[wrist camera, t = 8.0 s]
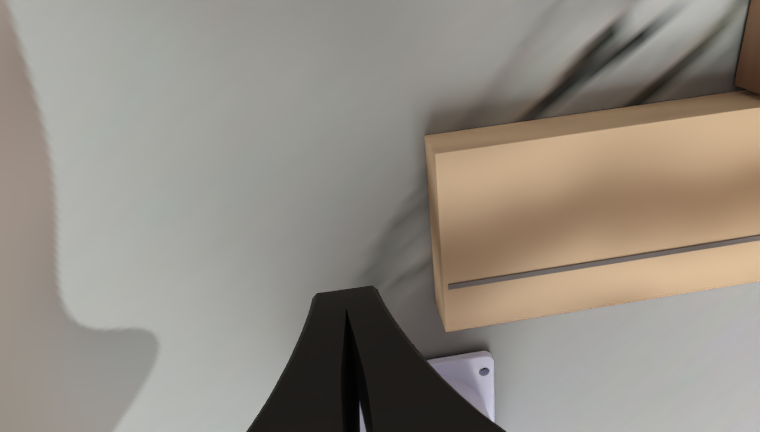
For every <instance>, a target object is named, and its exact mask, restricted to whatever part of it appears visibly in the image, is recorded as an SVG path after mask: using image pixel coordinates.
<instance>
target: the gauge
mask: <svg viewBox="0 0 760 432" xmlns="http://www.w3.org/2000/svg"><path fill="white" fill-rule="evenodd" d="M734 85H735V86H738V87H741V88H743V89H746V90H749V91H752V92H755V93H758V94H760V0H751V3H750V8H749V13H748V18H747V23H746V28H745V33H744V38H743V43H742V48H741V53H740V58H739V63H738V68H737V73H736V77H735V82H734Z"/></svg>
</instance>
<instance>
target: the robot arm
mask: <svg viewBox="0 0 760 432" xmlns="http://www.w3.org/2000/svg"><path fill="white" fill-rule="evenodd" d="M482 368H485V369H484V370H481V369H482ZM247 432H506V431H505V430H503V429H502V428H501V427H499V426H498V425H497V424H495V410H494V359H493V357H492V355H491V353H490V352H487V351H479V352H473V353H467V354H461V355H455V356H449V357H443V358H437V359H431V360H426V359H425V358H424V357H423V356H422V355H421V354H420V352H419V351H418V350H417V349H416V348H415V346H414V345H413V344H412V343H411V341H410V340H409V339H408V337H407V336H406V335H405V334H404V332H403V331H402V330H401V328H400V327H399V325H398V324H397V323H396V321H395V320H394V318H393V317H392V315H391V314H390V312H389V311H388V309H387V307H386V306H385V304H384V302H383V300H382V298H381V296H380V294H379V292H378V289H376V288H375V287H373V286H366V287H359V288H352V289H345V290H338V291H331V292H324V293H317V294H316V295H315V296H314V297H313V298H312V303H311V307H310V310H309V314H308V317H307V319H306V322H305V325H304V327H303V330H302V332H301V335H300V337H299V339H298V342H297V344H296V346H295V348H294V351H293V353H292V355H291V357H290V359H289V361H288V363H287V365H286V367H285V369H284V371H283V373H282V375H281V376H280V378H279V380H278V382H277V384H276V386H275V388H274V389H273V391H272V393H271V395H270V396H269V398H268V400H267V401H266V403H265V405H264V406H263V408H262V409H261V411H260V412H259V414H258V415H257V417H256V418H255V420H254V421H253V423H252V424H251V426H250V427H249V429H248V430H247Z"/></svg>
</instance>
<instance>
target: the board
mask: <svg viewBox="0 0 760 432" xmlns="http://www.w3.org/2000/svg"><path fill="white" fill-rule="evenodd" d="M424 141H425V155H426V170H427V184H428V198H429V213H430V227H431V241H432V255H433V270H434V284H435V298H436V306H437V308H438V311H439V314H440V317H441V320H442V323H443V325H444V328H445V331H446V332H451V331H457V330H463V329H469V328H475V327H481V326H488V325H494V324H500V323H506V322H512V321H518V320H524V319H530V318H537V317H543V316H549V315H555V314H561V313H567V312H573V311H579V310H585V309H592V308H598V307H604V306H610V305H616V304H622V303H628V302H634V301H641V300H647V299H653V298H659V297H665V296H671V295H677V294H683V293H689V292H696V291H702V290H708V289H714V288H720V287H726V286H732V285H738V284H745V283H751V282H757V281H760V94H758V93H755V92H752V91H749V90H742V91H735V92H728V93H721V94H714V95H707V96H700V97H693V98H686V99H679V100H672V101H665V102H658V103H651V104H643V105H636V106H629V107H622V108H615V109H608V110H601V111H594V112H587V113H580V114H573V115H566V116H559V117H552V118H545V119H538V120H531V121H524V122H516V123H509V124H502V125H495V126H488V127H481V128H474V129H467V130H460V131H453V132H446V133H439V134H432V135H425V136H424Z"/></svg>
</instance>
